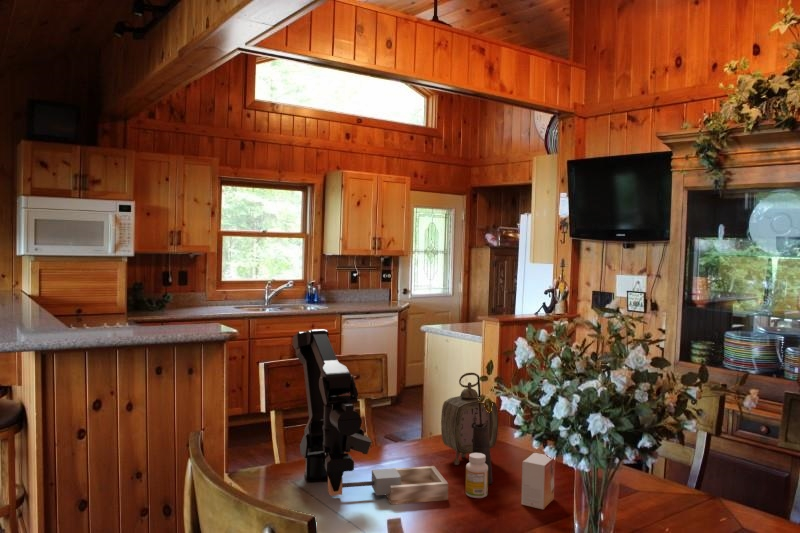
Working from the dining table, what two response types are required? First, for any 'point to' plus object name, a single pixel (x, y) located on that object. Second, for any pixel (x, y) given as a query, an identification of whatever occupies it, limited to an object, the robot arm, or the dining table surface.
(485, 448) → the butter churn
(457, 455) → the tabletop clock
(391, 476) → the tethered block
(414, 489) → the tray
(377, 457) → the dining table surface
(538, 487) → the small box
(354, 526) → the dining table surface
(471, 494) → the supplement bottle
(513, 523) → the dining table surface
